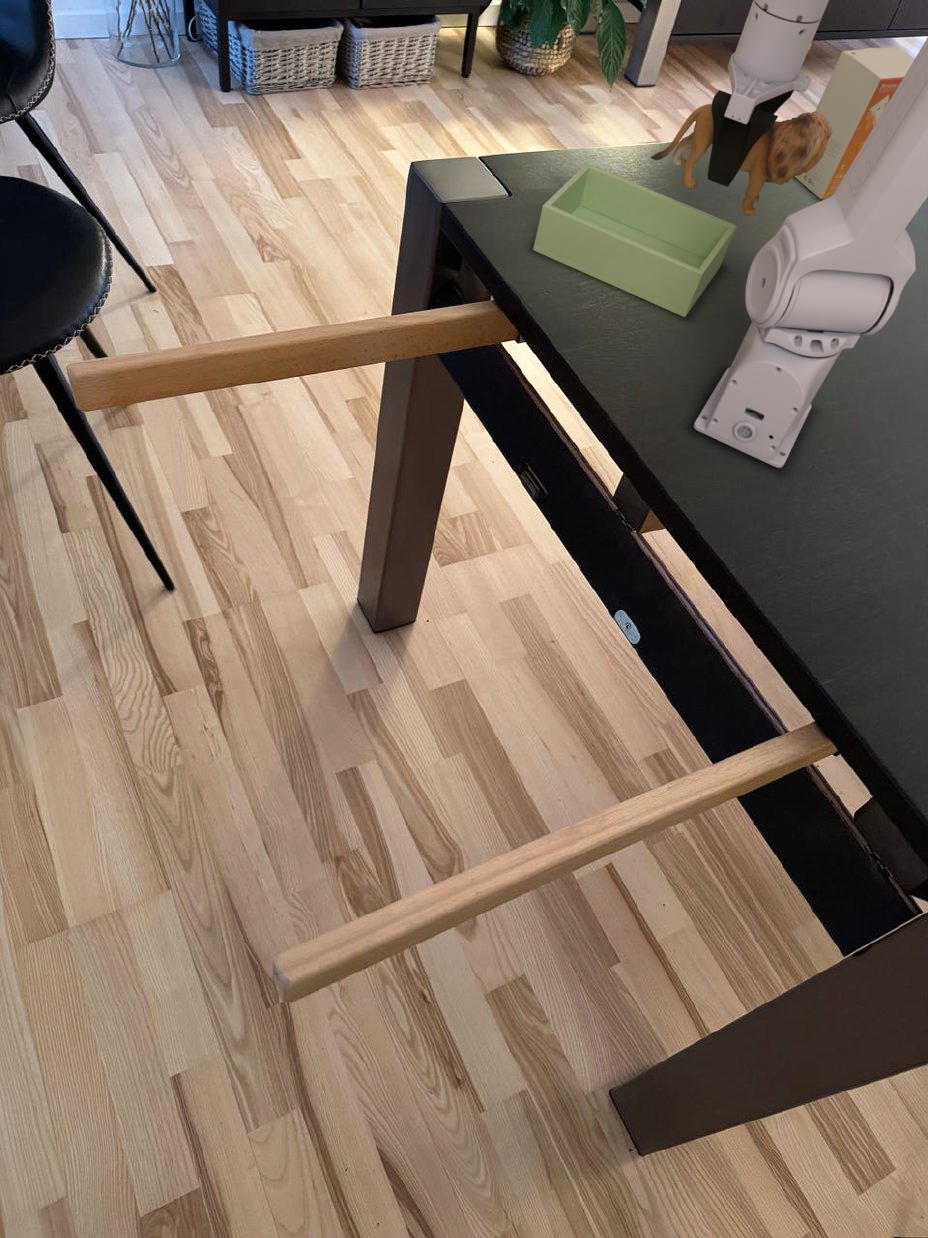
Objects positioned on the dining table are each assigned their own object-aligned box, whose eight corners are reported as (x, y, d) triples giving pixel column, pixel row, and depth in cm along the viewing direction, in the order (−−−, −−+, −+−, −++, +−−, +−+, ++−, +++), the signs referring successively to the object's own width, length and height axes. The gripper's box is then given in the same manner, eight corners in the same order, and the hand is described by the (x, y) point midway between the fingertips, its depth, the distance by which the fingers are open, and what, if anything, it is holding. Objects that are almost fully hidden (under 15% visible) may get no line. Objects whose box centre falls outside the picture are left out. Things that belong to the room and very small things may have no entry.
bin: (684, 317, 84) (702, 274, 80) (532, 250, 87) (542, 205, 83) (719, 267, 89) (737, 225, 86) (575, 206, 92) (586, 162, 89)
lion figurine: (797, 207, 86) (844, 111, 79) (786, 232, 83) (834, 134, 76) (656, 152, 88) (689, 53, 80) (640, 175, 85) (673, 74, 77)
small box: (820, 201, 100) (881, 78, 90) (786, 171, 103) (840, 48, 93) (873, 193, 103) (937, 72, 92) (838, 163, 106) (896, 43, 95)
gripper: (815, 53, 68) (745, 220, 79) (851, -4, 76) (783, 154, 87) (729, 23, 69) (671, 191, 80) (773, -30, 77) (715, 129, 88)
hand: (725, 170), depth 84 cm, fingers closed on lion figurine, 4 cm apart
